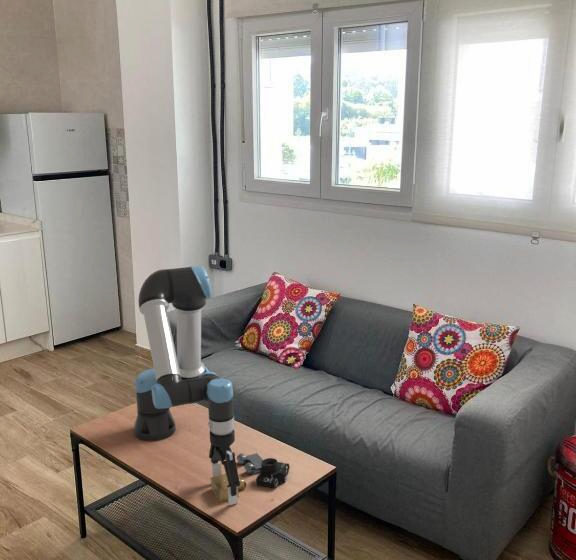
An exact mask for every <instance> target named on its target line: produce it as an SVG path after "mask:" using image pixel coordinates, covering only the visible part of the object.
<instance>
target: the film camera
mask: <svg viewBox="0 0 576 560" xmlns="http://www.w3.org/2000/svg"><path fill="white" fill-rule="evenodd" d="M261 466H262V470H261V472H259V473H258V475H257V476H256V479H255V485H257V486H263V487H269V488H277V487H278V486H279V484H283V483H286V481H287V480H288V478H287V477H288V475H289V473H290V472H289V471H290V463H288V462H287V463H285V462H283V461H278V460H277V459H276V458H274V457H273V458H271V457H270V458H265V459H263V461H262V462H261Z"/></svg>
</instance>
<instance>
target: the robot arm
mask: <svg viewBox="0 0 576 560" xmlns="http://www.w3.org/2000/svg"><path fill="white" fill-rule="evenodd" d="M211 298H212V287H211V283H210V279H209V275H208V273H207V271H206V269H205V268H204V267H203V266H202V265H201V266H191V265H190V266H187V267H178V268H175V267H174V268H167V269H165V268H164V269H162V268H161V269H158V270H156V271H154V272H152V273H151V274H150V275H148V277H147V278H146V279H145V280H144V282H143V284H142V285H141V288H140V290H139V293H138V309H139V312H140V314H142V315H143V316H144V322H145V323H144V324H145V328H146V333H147V334H146V335H147V338H148V344H149V349H150V356H151V359H152V364H153V365H152V366H153V368H149V369H146V370H143V371H142V372H140V373H139V374H138V375H137V376H136V377H135V382H134V386H135V387H134V391H135V395H136V413H137V415H136V419H135V422H134V426H133V433H134V436H135V438H137V439H139V440H141V441H146V442H152V441H160V440H164V439H167V438H170V436H172V435H174V433H175V432H176V428H177V427H176V422H175V420H174V419H175V418H174V417H173V415H172V412H171V410H170V409H171V408H174V407H179V406H185V405H191V404H197V403H203V402H205V403H207V408H208V409H207V410H208V422H207V426H208V427H209V442H210V447H209V452H208V458H209V459H210V463H211V469H212V470H211V473H212V477H215V476H219V475H222V465H223V468H224V471H225V474H226V476H227V479H228V483H229V485H227V488H228V500H227V502H228V505H229V506H232V505H235V504H238V503H239V501H238V498H239V497H237V486H240V481H239V478H240V477H239V473H238V467H237V463H236V461H237V460H236V454H235V452H234V451H232V449H231V448H232V447H230V446H232V444H233V443H235V441H236V439H235V438H236V437H235V415H234V390H233V383H232V381H231V380H229V379H226V378H222V377H220V376H219V375H218V374H217V373H215V372H213V371H209V369H208V368H207V366H205V363H203V362H202V310H203V309H204V308H205V307H206V303H207V300H209V299H211ZM169 304H171V305H172V307H173V308H174V309H175V310H176V347H175V342H174V338H173V334H172V329H171V323H170V319H169V314H168V309H169V307H170V305H169Z"/></svg>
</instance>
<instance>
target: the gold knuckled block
mask: <svg viewBox="0 0 576 560" xmlns="http://www.w3.org/2000/svg"><path fill="white" fill-rule="evenodd" d="M239 481H240V486H237V497H238V498H239V497H240V496H239V491H244V490H245V489H246V488H247V482H246V481H245V480H244V479H243V478H242V477H239ZM227 485H229V483H228V479H227V476H226V473H223V474H222V473H221V475H219V476H215V477H213V476H212V477H210V489H211V491H212V492H213V493H214V496H215V497H216V498H217V499H218V501H219V502H220V503H222V502H226V501H228V488H227Z"/></svg>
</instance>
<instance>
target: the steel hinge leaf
mask: <svg viewBox="0 0 576 560" xmlns="http://www.w3.org/2000/svg"><path fill="white" fill-rule="evenodd" d="M263 460H264V459H263V458H262V457H261V456H260V455H259V453H258V452H256V453H252V454H248V455H245V454H244V453H239V454H238V455H237V456H236V461H237V463H239V464H240V466H244V467H243V468H244V470H245V472H246V473H247V474H248V475H249V476H251V475H256V474H260V472H261V470H262V466H261V462H262V461H263Z"/></svg>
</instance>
